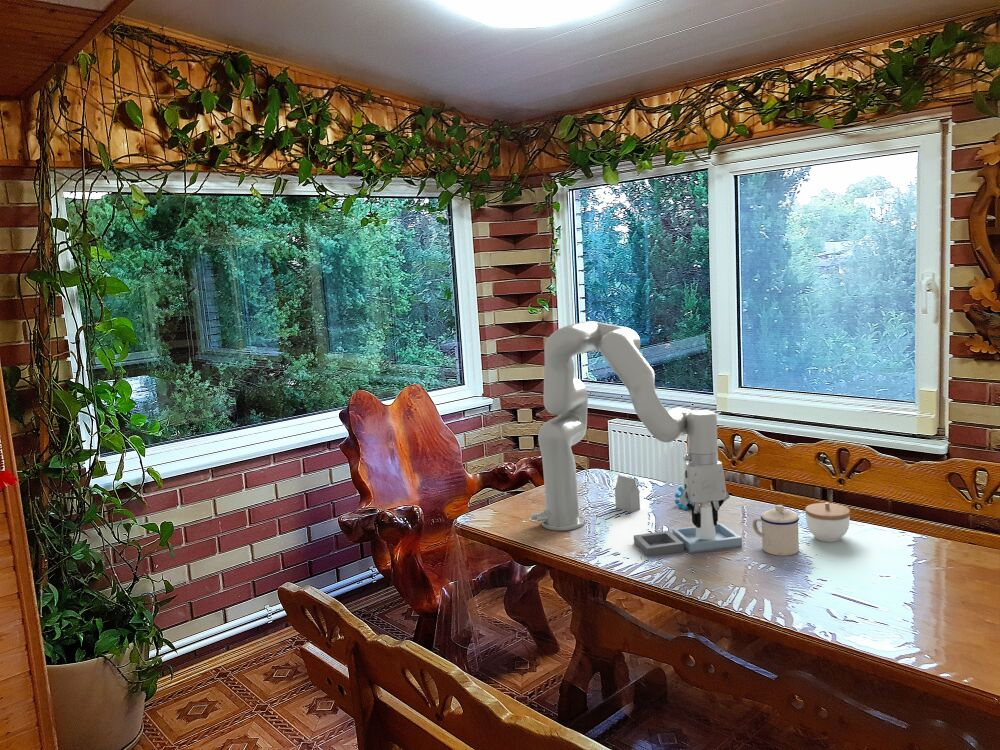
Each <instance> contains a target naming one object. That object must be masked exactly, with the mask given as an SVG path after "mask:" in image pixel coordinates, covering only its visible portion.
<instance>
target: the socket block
mask: <svg viewBox="0 0 1000 750" xmlns="http://www.w3.org/2000/svg"><path fill="white" fill-rule="evenodd" d="M663 542H666V543H663ZM656 543H660V544H656ZM661 543H662V544H661ZM633 544H634V545H635V546H636V547H637V548H638V549H639V550H640V551H641V553H643V554H644V555H645V556H646V557H648V556H649V557H655V556H662V555H668V554H677V553H682V552H683V553H684V552H685V548H684V543H683V542H682V541H680V540H679V539H678V538H677V537H676V536H675V535H673V533H672V532H671V531H670V530H665V531H664V530H663V531H657V532H649V533H642V534H635V535H633ZM650 544H653V545H650Z"/></svg>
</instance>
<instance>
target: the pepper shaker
mask: <svg viewBox="0 0 1000 750" xmlns="http://www.w3.org/2000/svg"><path fill="white" fill-rule="evenodd" d="M698 511H699V513H700V517H701V527H700V528H697V527H696V535H695V537H697V538H699V539H702V540H710V539H714V538H715V536H716V532H715V526H714V522H713V512H712V505H710V502H704V503H699V510H698Z"/></svg>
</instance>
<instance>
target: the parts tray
mask: <svg viewBox="0 0 1000 750" xmlns="http://www.w3.org/2000/svg"><path fill="white" fill-rule="evenodd" d="M671 531H672V532H671V533H672V534H673V535H675V536H676V537H677V538H678V539H679V540H680V541H682V542H683V543H684V550H686V551H687V552H688V553H690V555H692V554H693V555H694V554H700V553H705V552H711V551H712V552H714V551H720V550H726V549H727V550H728V549H735V548H741V547H743V538H742V536H741V535H739V534H738V533H736V532H735V531H733V530H732V529H731V528H729V527H727V526H726V525H725V524H724V523H722V522H717V525H716V526H715V532H716V536H715V538H714V539H710V540H702V539H699V538H697V537H695V535H696V526H695V525H693V526H684V527H677V528H672V529H671Z"/></svg>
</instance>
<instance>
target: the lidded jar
mask: <svg viewBox="0 0 1000 750" xmlns="http://www.w3.org/2000/svg"><path fill="white" fill-rule="evenodd" d="M804 511H805V521H806V525H807V529H808V530H809V532H810V533H811V534H812V535H813V536H814V537H815V539H816V540H818V541H820V542H825V543H835V542H839V541H841V538H844V536H845V535H846V534H847V532H848V531H849V526H850V521H851V519H850V518H851V510H850V509H849V507H847V506H845V505H842V504H838V503H833V502H832V503H831V502H818V503H817V502H816V503H811V504H808V505H807V506H805V509H804Z"/></svg>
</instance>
